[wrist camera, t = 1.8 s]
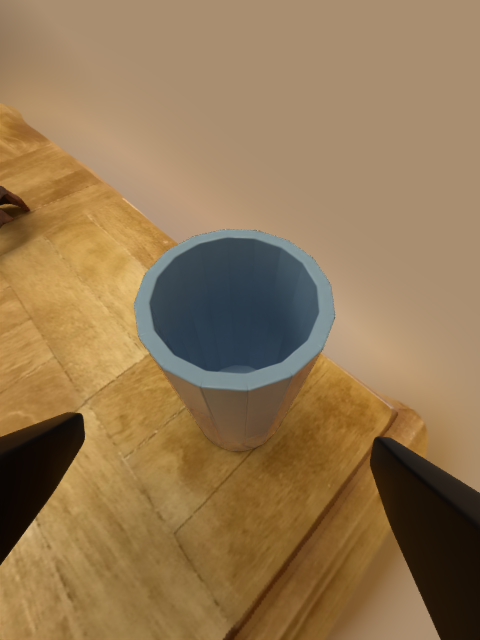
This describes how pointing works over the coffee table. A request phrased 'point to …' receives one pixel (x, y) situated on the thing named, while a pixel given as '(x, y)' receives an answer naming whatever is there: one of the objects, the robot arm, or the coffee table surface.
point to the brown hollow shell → (6, 197)
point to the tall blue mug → (235, 329)
